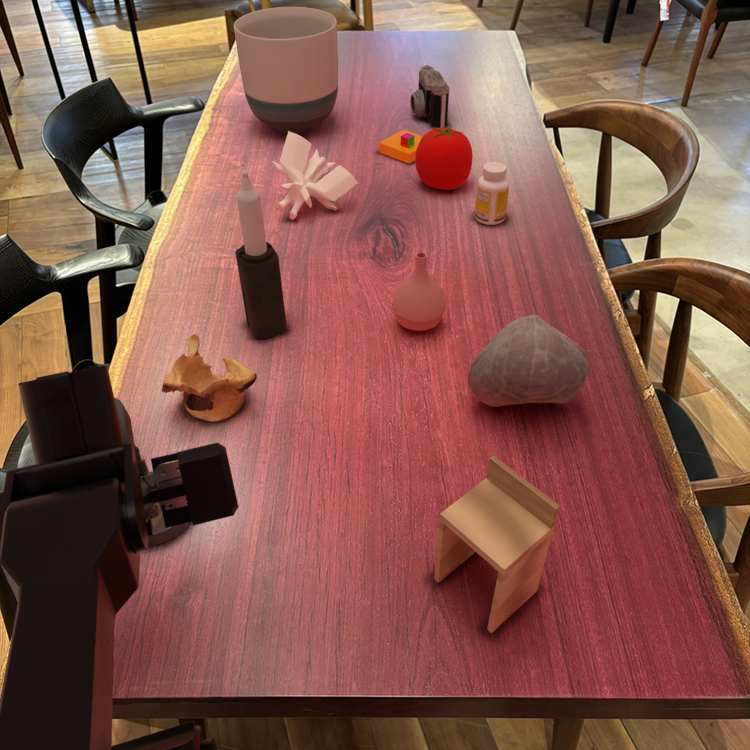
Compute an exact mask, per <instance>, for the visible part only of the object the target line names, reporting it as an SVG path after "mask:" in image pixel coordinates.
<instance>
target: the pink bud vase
mask: <svg viewBox="0 0 750 750" xmlns="http://www.w3.org/2000/svg"><path fill="white" fill-rule="evenodd" d="M414 258H415V261H414V262H415V263H414V269H413V271H412V272H411V274H410V276H409V277H408V278H406V279H405V280H403V281H402V282H400V283H399V285H397V287H396V288H395V293H394V295H393V296H394V297H393V301H392V304H391V305H392V308H393V312H394V315H395V317H396V319H397V322H398V323H399V324H400V325H401V326H402V327H404V328H405V329H407V330H411V331H416V332H417V331H418V332H420V331H421V332H424V331H428V330H432V329H433V328H435V327H437V326H438V324H439V323H441V321H442V320H441V319H442V318H443V316H444V313H445V312H446V307H447V303H446V296H445V291H444V288H443V287H442V286H441V285H440V284H439V283H438V282H436V281H435V280H434V279H433V278H432V277H431V274H430V273H429V272H428V270H427V261H428V260H427V259H428V254H427V253H426V252H423V251H419V252H416V253H415V257H414Z"/></svg>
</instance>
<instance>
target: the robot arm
mask: <svg viewBox="0 0 750 750" xmlns="http://www.w3.org/2000/svg"><path fill="white" fill-rule="evenodd" d="M18 390H19V394H20V400H21V403H22V408H23V412H24V417H25V421H26V427H27V430H28V436H29V439H30V444H31V449H32V454H33V459H34V461H35V462H34V463H35V464H30V465H26V466H22V467H17V468H12V469H9V470H8V469H7V470H6V474H5V480H4V485H3V489H2V490H3V491H0V572H1V575H2V576H3V578H4V579H5V581H6V582H7V583H8V584H9V586H10V588H11V591H12V592H13V595H14V597H15V599H16V601H17V602H16V603H17V605H16V610H15V615H14V622H13V627H12V633H11V638H10V642H9V643H10V644H9V649H8V653H7V659H6V667H5V669H4V670H5V671H4V675H3V681H2V688H1V692H0V750H218V746H217V744H216V740H215V739H214V737H211V738H207V739H205V740H204V734H203V728H202V727H201V726H200V725H197V724H195V721H194V720H191V721H187V722H184V723H181V724H177V725H175V726H172V727H168V728H165V729H162V730H159V731H155V732H152V733H149V734H145V735H142V736H139V737H136V738H133V739H129V740H127V741H124V742H121V743H120V742H119V743H118V744H114V745H112V743H113V703H114V701H113V700H114V663H115V662H114V661H115V625H116V617H117V614H118V613H119V612H120V610H121V609H122V608H123V607H124V606H125V605H126V604H127V602H128V601H129V600H130V599H131V597H132V596H133V595H134V594H135V593H136V592H137V590H138V589H139V586H140V571H141V570H140V569H141V551H145V550H148V548H149V546H148V542H149V541H148V536H151V535H153V534H154V530H153V526H152V521H151V519H152V518H156V517H158V516H159V515H160V512H159V508H158V506H157V505H155V508H154V509H153V503H156V502H158V503H159V506H160V510H161V513H162V517H163V520H164V524H165V527H166V528H168V527H172V526H176V525H180V524H184V523H188V522H190V523H191V524H192V526H198V525H202V524H206V523H209V522H214V521H217V520H222V519H224V518H225V519H226V518H229V517H233V516H234V515H235V513H236V512H237V510H238V508H239V502H238V497H237V493H236V489H235V484H234V483H235V482H234V479H233V475H232V470H231V466H230V461H229V457H228V451H227V447H226V446H225V445H223V444H222V443H219V442H214V443H210V444H205V445H201V446H197V447H192V448H188V449H184V450H179V451H177V452H173V453H170V454H166V455H161V456H156V457H151V458H150V462H151V468H152V472H153V474H152V475H148V472H147V468H146V463H147V462H146V463H145V460H146V459H145V458H144V459H142V460H141V457H140V455H141V454H140V453H141V452H140V448H139V447H138V446H136V444H135V438H134V432H133V426H132V419H131V416H130V414H129V412H128V411H127V409H126V407H125V406H124V404H123V402H122V401H121V400H120V399H119V398H117V397H115V394H114V389H113V385H112V381H111V377H110V372H109V367H108V366H107V365H102V366H96V367H91V368H85V369H81V370H76V371H62V372H57V373H52V374H47V375H42V376H37V377H35V379H32V380H27V381H22V382H19V383H18ZM146 475H147V476H146ZM142 476H143V477H142ZM149 484H150V485H151V487H154V485H155V489H154V490H150V488H149Z"/></svg>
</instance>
